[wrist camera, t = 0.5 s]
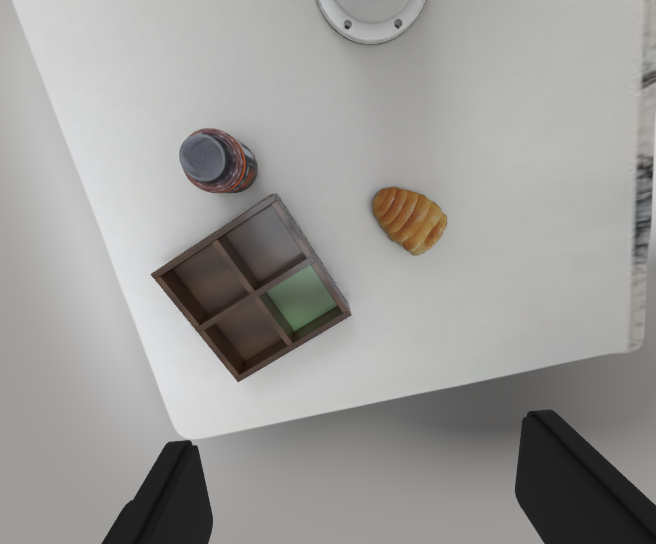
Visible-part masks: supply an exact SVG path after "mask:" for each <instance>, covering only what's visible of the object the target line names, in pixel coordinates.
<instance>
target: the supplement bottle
mask: <svg viewBox="0 0 656 544" xmlns="http://www.w3.org/2000/svg"><path fill="white" fill-rule="evenodd" d="M180 162H181V165H182V167H183V170H184V172H185V174H186V176H187V177H188V179H189V180H190V181H191V182H192V183H193V184H194V185H195V186H197V187H198V188H200V189H202V190H204V191H207V192H212V193H237V192H241V191H243V190H245V189H247V188H248V187H250V185H251V184H252V183H253V182H254V180H255V177H256V174H257V164H256V160H255V158H254V155H253V154H252V152H251V151H250V150H249V149H248V148H247V147H246V146H245V145H243V144H242V143H240V142H239V141H237V140H236V139H234V138H233V137H231V136H230V135H228V134H227V133H225V132H223V131H220V130H217V129H212V128H206V129H201V130H198V131H196V132H194V133H193V134H191V135H190V136H189V137H188V138H187V139H186V140H185V141H184V142H183V144H182V146H181V148H180Z"/></svg>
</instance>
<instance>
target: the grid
mask: <svg viewBox="0 0 656 544" xmlns="http://www.w3.org/2000/svg"><path fill="white" fill-rule="evenodd" d="M151 276H152V277H153V278H154V279H156V282H157V283H158V284H159V285H160V286H161V288H162V289H163V290H164V291H165V293H166V294H167V295H168V296H169V298H170V299H171V300H172V301H173V302H174V304H175V305H176V306H177V307H178V309H179V310H180V311H181V312H182V314H183V315H184V316H185V317H186V318H187V320H188V321H189V322H190V323H191V325H192V326H193V327H194V328H195V330H196V331H197V332H198V333H199V335H200V336H201V337H202V338H203V339H204V341H205V342H206V343H207V344H208V346H209V347H210V348H211V349H212V351H213V352H214V353H215V354H216V355H217V357H218V358H219V359H220V360H221V362H222V363H223V364H224V365H225V366H226V368H227V369H228V370H229V371H230V373H231V374H232V375H233V376H234V377H235V379H236V380H237V381H238V382H239V381H241V380H243V379H244V378H246V377H248V376H250V375H251V374H253V373H255V372H256V371H258V370H260V369H261V368H263V367H265V366H267V365H268V364H270V363H272V362H273V361H275V360H277V359H278V358H280V357H282V356H283V355H285V354H287V353H289V352H290V351H292V350H294V349H295V348H297V347H299V346H300V345H302V344H304V343H305V342H307V341H309V340H311V339H312V338H314V337H316V336H317V335H319V334H321V333H322V332H324V331H326V330H327V329H329V328H331V327H333V326H334V325H336V324H338V323H339V322H341V321H343V320H344V319H346V318H348V317H349V316H351V312H350V308H349V305H348V303H347V301H346V300H345V298H344V296H343V295H342V293H341V292H340V290H339V289H338V287H337V286H336V284H335V283H334V281H333V279H332V278H331V276H330V275H329V273H328V272H327V270H326V269H325V267H324V266H323V264H322V262H321V261H320V259H319V258H318V256H317V255H316V253H315V252H314V250H313V249H312V247H311V246H310V244H309V242H308V241H307V239H306V238H305V236H304V235H303V233H302V232H301V230H300V229H299V227H298V225H297V224H296V222H295V221H294V219H293V218H292V216H291V215H290V213H289V212H288V210H287V208H286V207H285V205H284V204H283V202H282V201H281V199H280V198H279V196H278V195H277V194H272V195H270V196H269V197H267V198H266V199H264V200H263V201H261V202H260V203H258V204H257V205H255V206H254V207H252V208H251V209H249V210H248V211H246V212H245V213H243V214H242V215H240V216H239V217H237V218H235V219H234V220H232V221H231V222H229V223H228V224H226V225H225V226H223V227H222V228H220V229H219V230H217V231H216V232H214V233H213V234H211V235H210V236H208V237H207V238H205V239H204V240H202V241H200V242H199V243H197V244H196V245H194V246H193V247H191V248H190V249H188V250H187V251H185V252H184V253H182V254H181V255H179V256H178V257H176V258H175V259H173V260H172V261H170V262H169V263H167V264H165V265H164V266H162V267H161V268H159V269H158V270H156V271H155V272H153V273H152V274H151Z"/></svg>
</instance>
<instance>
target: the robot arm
mask: <svg viewBox="0 0 656 544" xmlns="http://www.w3.org/2000/svg"><path fill="white" fill-rule="evenodd" d="M317 1H318V5H319V7H320V9H321V11H322V13H323V15H324V17H325V18H326V19H327V21H328V22H329V23H330V25H331V26H332V27H333V28H334V29H335V30H336V31H338V32H339V33H340V34H341V35H343V36H344V37H346V38H348V39H350V40H352V41H355V42H358V43H363V44H377V43H383V42H386V41H388V40H391V39H393V38H395V37H397V36H398V35H400V34H401V33H403V32H404V31H405V30H406V29H407V28H408V27H409V26H410V25H411V24H412V23H413V21H414V20H415V19H416V17H417V16H418V14H419V12H420V11H421V9H422V7H423V5H424V3H425V1H426V0H317ZM395 25H397V26H398V28H396V27H395ZM346 26H347V27H349V29H345V27H346ZM515 494H516V498H517V500H518V503H519V504H520V506H521V508H522V509H523V511H524V512H525V514H526V515H527V517H528V519H529V520H530V522H531V523H532V525H533V526H534V528H535V529H536V531H537V533H538V534H539V536H540V537H541V539H542V540H543V542H544V543H545V544H656V505H655V504H654V503H652V502H651V501H650V500H649V499H648V498H647V497H646V496H645V495H644V494H643V493H642V492H641V491H640V490H639V489H637V488H636V487H635V486H634V485H633V484H632V483H631V482H630V481H629V480H627V478H626V477H625V476H623V475H622V474H621V473H620V472H619V471H618V470H617V469H616V468H615V467H614V466H613V465H612V464H611V463H609V462H608V461H607V460H606V459H605V458H604V457H603V456H602V455H601V454H600V453H599V452H598V451H596V450H595V449H594V448H593V447H592V446H591V445H590V444H589V443H588V442H587V441H586V440H585V439H584V438H583V437H581V436H580V435H579V434H578V433H577V432H576V431H575V430H574V429H573V428H572V427H571V426H570V425H568V423H566V422H565V421H564V420H563V419H562V418H561V417H560V416H559V415H557V413H555V412H554V411H553V410H539V411H530V412H528V414H527V417H524V418H523V421H522V429H521V438H520V447H519V456H518V465H517V475H516V484H515ZM212 526H213V516H212V511H211V506H210V501H209V497H208V492H207V487H206V483H205V478H204V473H203V468H202V464H201V459H200V454H199V450H198V447H197V446H196V445H194V446H193V445H192V442H191V441H190V440H186V441H175V442H168V443H167V444H166V445H165V446H164V448H163V450H162V452H161V453H160V455H159V457H158V458H157V460H156V462H155V463H154V465H153V467H152V469H151V471H150V472H149V474H148V476H147V477H146V479H145V481H144V482H143V484H142V486H141V487H140V489H139V491H138V492H137V494H136V496H135V498H134V499H133V500H131V501H130V502H129V503H127V504H126V505H125V507H124V508H123V509H122V511H121V512H120V514H119V516H118V517H117V519H116V521H115V522H114V524H113V526H112V527H111V529H110V531H109V532H108V534H107V536H106V537H105V539H104V541H103V542H102V544H208V542H209V539H210V535H211V532H212Z"/></svg>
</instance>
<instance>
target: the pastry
mask: <svg viewBox="0 0 656 544" xmlns="http://www.w3.org/2000/svg"><path fill="white" fill-rule="evenodd" d="M373 214H374V216H375V217H376V218H377V220H378V221H379V223H380V225H381V227H382V228H383V229H384V230H385V231H386V232H387V234H388V235H389V237H390V239H391V240H392V241H395V242H397V243H398V244H400V245H401V246H403V247H404V248H405V249H406V250H407V251H410V252H411V254H412V255H416V256H417V255H420V254H422V253H424V252H425V251H426V250H429V249H430V248H431V247H432V246H433V245H434V244H435V243H436V242H437V241H438V240H439V239H440V237H441V236H442V234H443V231H444V230H445V228H446V226H447V216H446V215H445V214H444V213H443V212H442V211H441V209H440V207H439V206H438V205H437V204H436V203H434V202H432V201H431V200H429V199H427V198H426V197H425V196H424V195H421V194H418V193H416V192H411V191H408V190H404V189H400V188H397V187H391V188H385V189H381V190H380V191H379V192H378V193H377V195H376V196H375V199H374V201H373Z"/></svg>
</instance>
